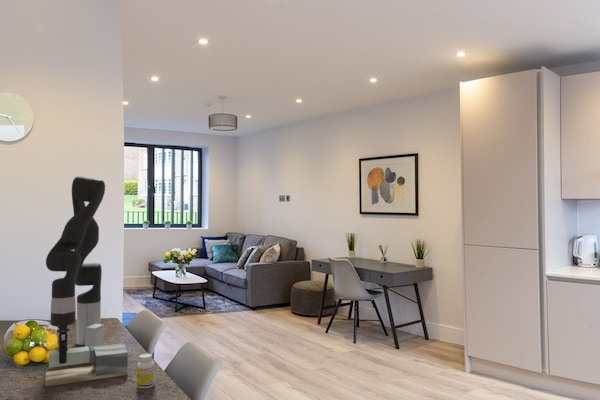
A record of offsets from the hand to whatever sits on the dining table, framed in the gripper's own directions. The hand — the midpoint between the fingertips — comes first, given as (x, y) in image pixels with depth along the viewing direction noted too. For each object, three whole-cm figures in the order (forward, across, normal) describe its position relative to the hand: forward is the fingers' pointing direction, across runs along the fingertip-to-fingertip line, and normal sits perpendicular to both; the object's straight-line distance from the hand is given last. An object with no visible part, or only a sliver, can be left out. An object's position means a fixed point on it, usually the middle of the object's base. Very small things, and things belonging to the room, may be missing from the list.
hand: (62, 360), depth 160 cm
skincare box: (+6, -19, +11) cm, 23 cm away
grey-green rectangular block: (+1, 0, +2) cm, 3 cm away
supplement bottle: (+6, +19, +24) cm, 31 cm away
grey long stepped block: (+6, 0, +8) cm, 10 cm away
